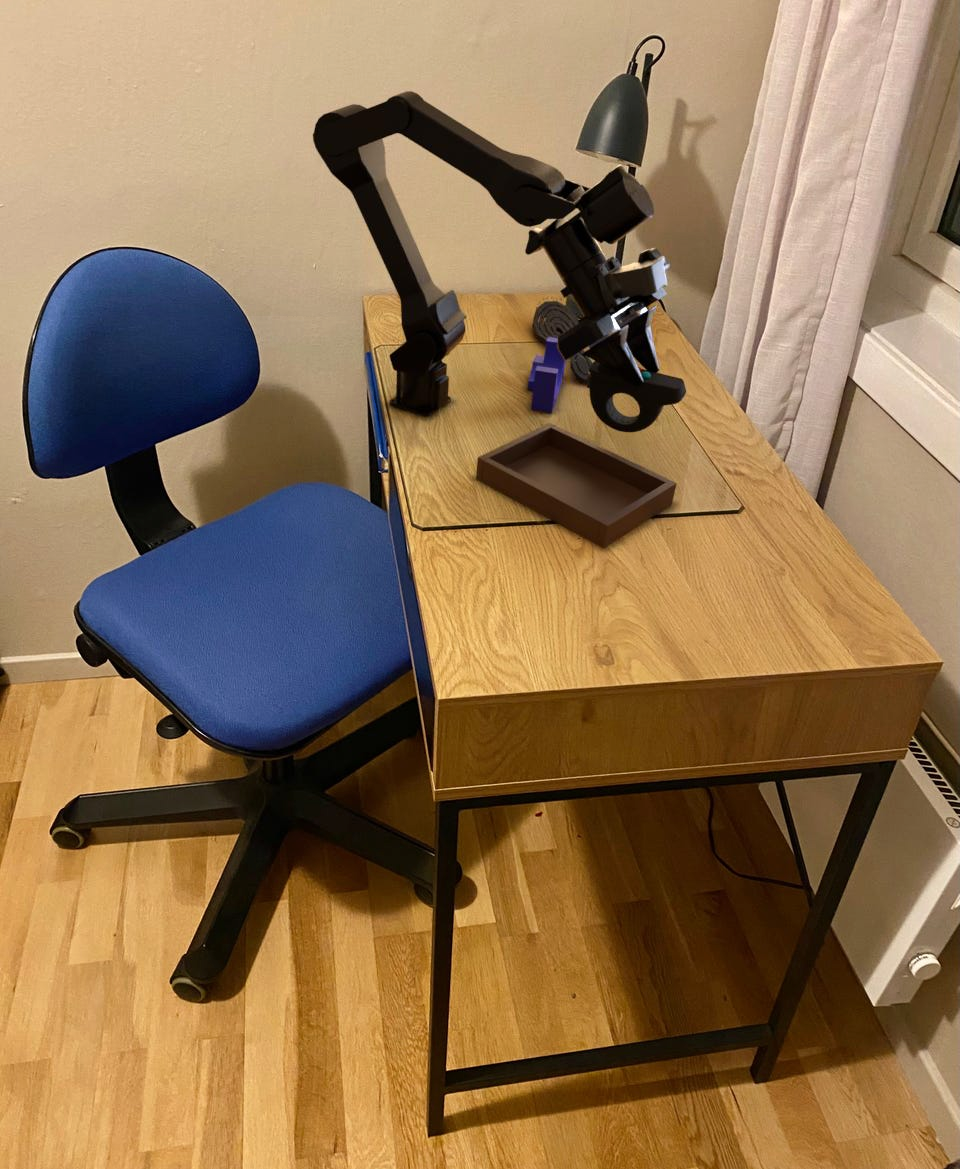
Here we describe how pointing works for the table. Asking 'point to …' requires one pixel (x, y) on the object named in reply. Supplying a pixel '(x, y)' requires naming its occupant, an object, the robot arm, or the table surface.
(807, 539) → the table surface
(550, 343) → the purple stepped block
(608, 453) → the tray
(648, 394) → the controller
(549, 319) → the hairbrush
